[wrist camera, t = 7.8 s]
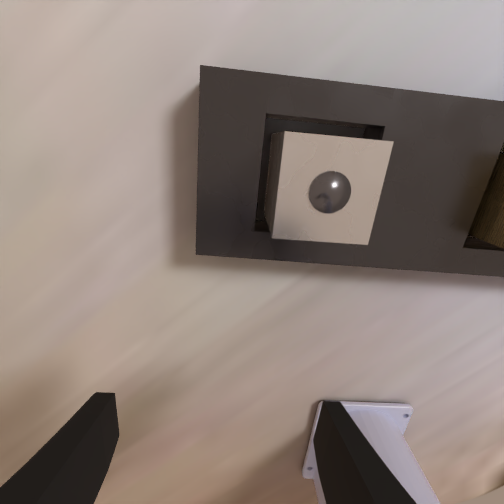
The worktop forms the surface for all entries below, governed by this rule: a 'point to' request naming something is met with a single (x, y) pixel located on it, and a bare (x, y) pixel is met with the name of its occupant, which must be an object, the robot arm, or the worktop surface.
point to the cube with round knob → (324, 186)
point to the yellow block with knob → (491, 209)
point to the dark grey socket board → (394, 186)
